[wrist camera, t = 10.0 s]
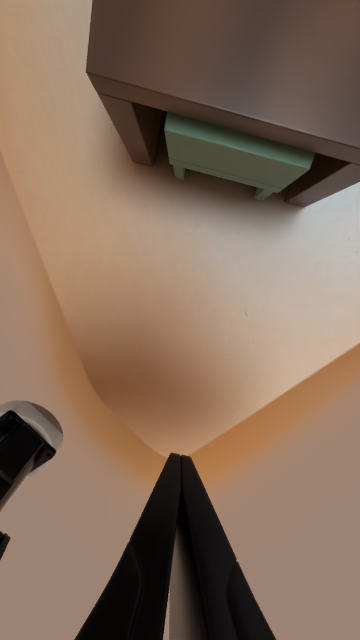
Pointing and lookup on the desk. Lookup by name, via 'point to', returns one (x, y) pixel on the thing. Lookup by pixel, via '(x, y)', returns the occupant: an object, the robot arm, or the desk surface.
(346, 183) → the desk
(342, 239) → the desk surface
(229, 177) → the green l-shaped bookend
